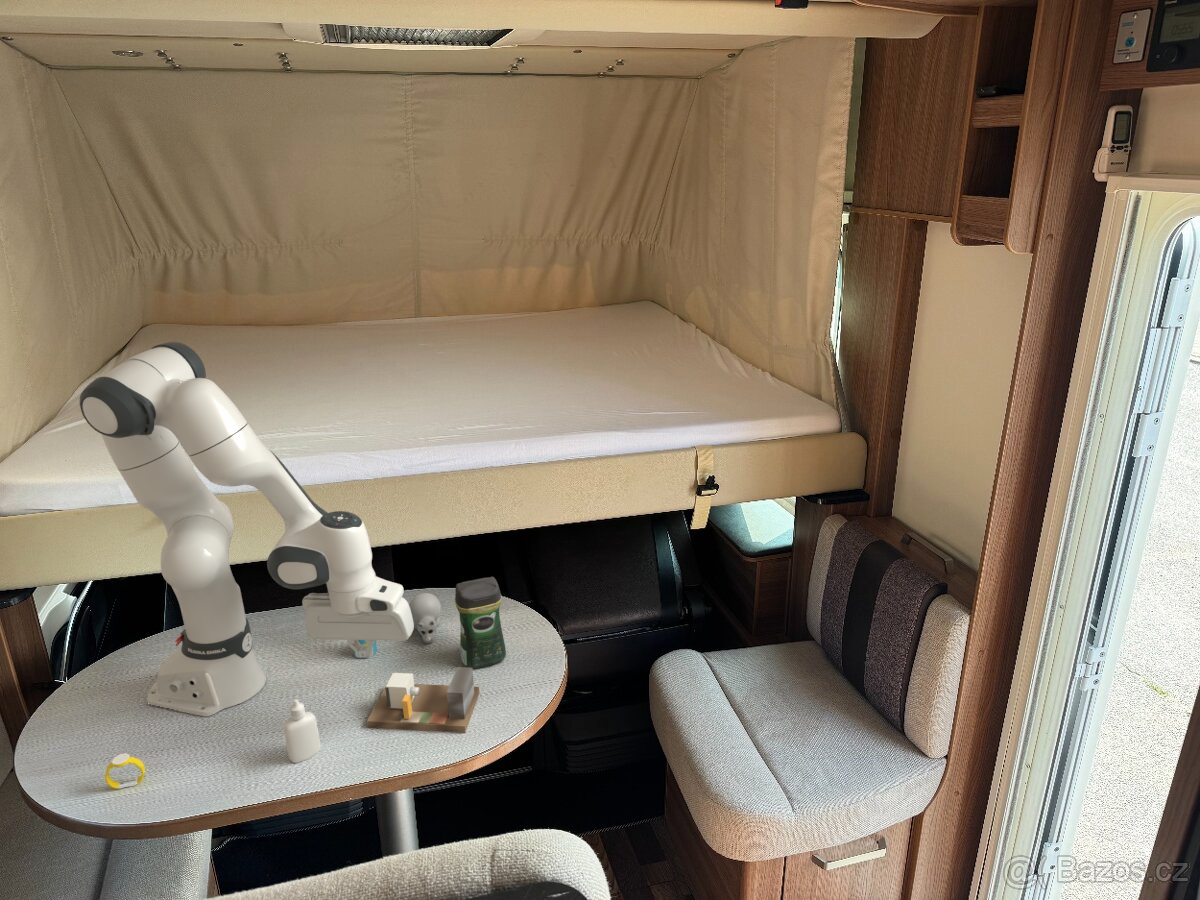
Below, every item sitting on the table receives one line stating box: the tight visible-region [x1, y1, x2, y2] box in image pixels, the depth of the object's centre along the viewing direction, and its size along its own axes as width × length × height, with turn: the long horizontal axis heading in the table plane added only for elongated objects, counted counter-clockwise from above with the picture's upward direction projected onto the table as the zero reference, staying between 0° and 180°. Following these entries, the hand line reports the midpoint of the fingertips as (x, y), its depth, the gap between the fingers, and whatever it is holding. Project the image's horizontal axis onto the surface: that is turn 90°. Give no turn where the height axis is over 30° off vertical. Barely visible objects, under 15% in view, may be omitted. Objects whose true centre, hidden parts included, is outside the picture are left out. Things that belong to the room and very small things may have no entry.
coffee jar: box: [454, 576, 507, 669], centre depth 181 cm, size 10×8×19 cm
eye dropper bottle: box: [282, 698, 322, 764], centre depth 155 cm, size 4×6×12 cm
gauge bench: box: [366, 666, 480, 734], centre depth 167 cm, size 19×12×8 cm, turn 85°
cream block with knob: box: [384, 672, 420, 719], centre depth 165 cm, size 6×8×5 cm
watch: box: [104, 752, 146, 790], centre depth 149 cm, size 6×3×6 cm, turn 109°
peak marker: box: [402, 695, 412, 719], centre depth 163 cm, size 1×2×4 cm, turn 174°
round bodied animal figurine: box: [408, 592, 442, 644], centre depth 192 cm, size 7×12×8 cm, turn 12°
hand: (365, 656), depth 165 cm, fingers closed
